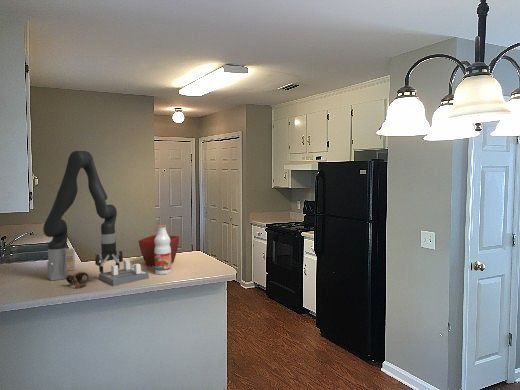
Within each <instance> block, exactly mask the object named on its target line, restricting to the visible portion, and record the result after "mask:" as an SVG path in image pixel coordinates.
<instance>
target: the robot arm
mask: <svg viewBox="0 0 520 390" xmlns="http://www.w3.org/2000/svg"><path fill="white" fill-rule="evenodd" d="M81 169H83V170H84V172H85V174H86V177H87V181H88V182H87V185H88V191H89V193H90V196H91V197H92V199H93V201H94V205H95V207H94V208H95V211H96V214H97V215H98V217H100V218H101V219H104V220H103V222H102V224H101V225H100V244H101V245H100V246H101V249H100V250H101V253H96V254H95V257H94V258H95V260H94V261H95V265H96V266H98V268H99V272H100V273H104V264H105V263H106V262H109V261H114V262H115V265H118V270H120V268H121V267H120V264H121V263H122V262H124V258H123V251H122V250H118V251H117V239H116V228H115V227H116V226H115V225H116V220H117V215H118V211H117V208H116V206H115V205H113V204H107V202H106V201H107V200H108V195H107V193H106V190H105V189H104V187H103V184H102V182H101V179H100V177H99V174H98V172H97V171H98V170H97V167H96V164H95V161H94V157H93V155H92V153H90V152H89V151H87V150H74V151H72V152H71V153H70V154H69V156H68V158H67V163H66V167H65V171H64V175H63V176H62V180H61V183H60V185H59V189H58V191H57V194H56V197H55V200H54V202H53V205H52V207H51V210H50V212H49V214H48V215H47V217H46V219H45V222H44V224H43V228H42V229H43V234H44V235H45V236H46V237H48V238H52V239H51V240H50V242H48V244H47V256H48V257H47V259H48V261H47V262H46V265H47V266H46V267H47V279H48V280H50V281H60V280H66V277H67V276H68V271H67V258H66V248H67V243H68V224H67V223H66V220H64V219H63V216H64V214H65V213H66V212H67V211H68V210H69V208H70V207H72V206H73V203H74V202H75V199H76V198H77V197H76V196H77V195H78V191H79V190H78V175H79V174H80V171H81ZM116 256H118V258H117V257H116Z"/></svg>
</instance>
